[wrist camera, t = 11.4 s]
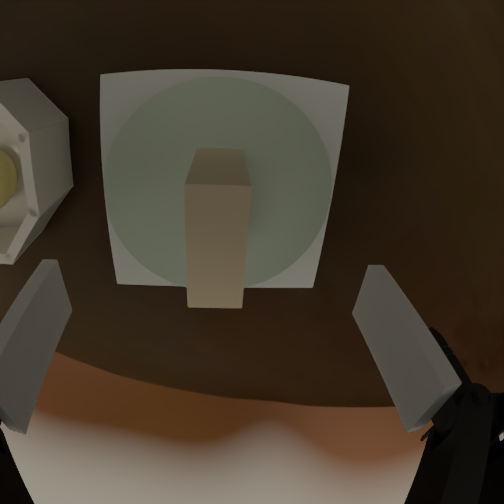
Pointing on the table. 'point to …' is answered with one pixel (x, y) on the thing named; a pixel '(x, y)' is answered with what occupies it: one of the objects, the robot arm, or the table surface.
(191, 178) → the lid
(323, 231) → the mat
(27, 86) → the bowl
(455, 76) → the table surface
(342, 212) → the table surface
